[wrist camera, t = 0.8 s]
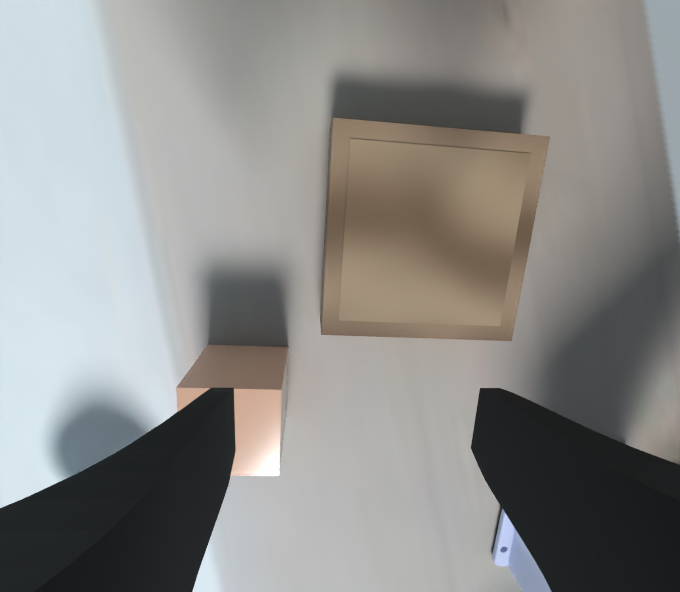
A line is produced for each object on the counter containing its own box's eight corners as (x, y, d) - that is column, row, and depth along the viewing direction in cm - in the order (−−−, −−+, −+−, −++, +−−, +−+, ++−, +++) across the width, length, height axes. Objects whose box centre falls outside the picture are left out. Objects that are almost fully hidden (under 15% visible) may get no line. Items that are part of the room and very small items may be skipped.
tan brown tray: (488, 325, 21) (512, 341, 19) (320, 319, 20) (321, 335, 18) (519, 145, 19) (550, 136, 17) (330, 129, 18) (333, 117, 16)
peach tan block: (286, 415, 22) (279, 475, 17) (210, 414, 22) (180, 475, 17) (288, 346, 21) (281, 389, 16) (208, 344, 20) (176, 387, 16)
